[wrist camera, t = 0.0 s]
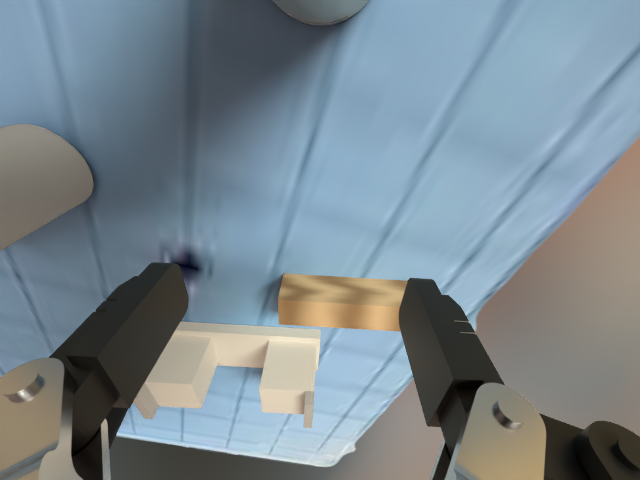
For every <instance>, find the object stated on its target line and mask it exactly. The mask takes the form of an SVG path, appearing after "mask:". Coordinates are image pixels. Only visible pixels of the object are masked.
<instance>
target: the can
mask: <svg viewBox="0 0 640 480" xmlns="http://www.w3.org/2000/svg"><path fill="white" fill-rule="evenodd" d="M93 186H94V184H93V178H92V173H91V171H90V168H89V166H88V164H87V162H86V160H85V159H84V158H83V156H82V155H81V154H80V153H79V152H78V150H77V149H75V148H74V147H73V146H72V145H71V144H69V143H68V142H67V141H65V140H64V139H63V138H62V137H60V136H58V135H57V134H55V133H53V132H51V131H49V130H48V129H45V128H42V127H39V126H35V125H32V124H15V125H10V126H5V127H1V128H0V251H1V250H3V249H4V248H6V247H8V246H9V245H11V244H13V243H15V242H16V241H18V240H20V239H21V238H23V237H25V236H26V235H28V234H30V233H32V232H33V231H35V230H37V229H38V228H40V227H42V226H43V225H45V224H47V223H49V222H50V221H52V220H54V219H55V218H57V217H59V216H60V215H62V214H64V213H66V212H67V211H69V210H71V209H72V208H74V207H76V206H78V205H79V204H81V203H83V202H84V201H86V200H87V199H88V198H89V197H90V196H91V194H92V190H93Z"/></svg>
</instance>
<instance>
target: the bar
mask: <svg viewBox="0 0 640 480" xmlns="http://www.w3.org/2000/svg"><path fill="white" fill-rule="evenodd" d="M407 282H408V281H401V280H384V279H367V278H350V277H333V276H316V275H300V274H283V278H282V283H281V288H280V292H279V297H278V313H279V324H284V325H301V326H318V327H335V328H352V329H369V330H386V331H401V330H400V326H399V309H400V305H401V302H402V298H403V295H404V292H405V288H406V285H407Z"/></svg>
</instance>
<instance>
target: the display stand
mask: <svg viewBox="0 0 640 480" xmlns="http://www.w3.org/2000/svg"><path fill="white" fill-rule="evenodd" d="M320 334H321V330H320V329H303V328H286V327H269V326H251V325H234V324H217V323H200V322H183V321H181V322H180V323H179V325H178V327H177V328H176V330H175V332H174V333H173V335H172V337H171V339H170V340H169V342H168V344H167V345H166V347H165V349H164V350H163V352H162V354H161V355H160V357H159V359H158V361H157V362H156V364H155V366H154V367H153V369H152V371H151V372H150V374H149V376H148V377H147V379H146V381H145V383H144V384H143V386H142V388H141V389H140V391H139V393H138V394H137V396H136V398H135V399H134V401H133V402H134V404H135V405H136V407H137V408H138V409H139V411H140V412H141V414H142V415H143V417H144V418H146V419H153V417H154V415H155V413H156V411H157V409H158V407H159V406H167V407H185V408H202V405H203V402H204V400H205V397H206V394H207V391H208V389H209V386H210V383H211V380H212V378H213V375H214V372H215V369H216V367H217V365H220V366H238V367H255V368H263V372H262V377H261V382H260V387H259V391H260V398H261V405H262V411H263V412H273V413H291V414H304V427H307V428H312V417H313V405H314V383H315V371H318V360H319V348H320Z"/></svg>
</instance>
